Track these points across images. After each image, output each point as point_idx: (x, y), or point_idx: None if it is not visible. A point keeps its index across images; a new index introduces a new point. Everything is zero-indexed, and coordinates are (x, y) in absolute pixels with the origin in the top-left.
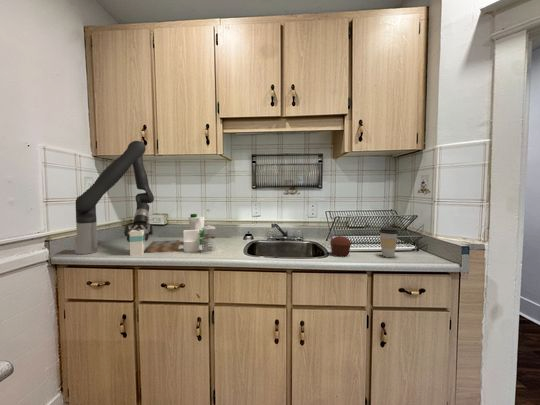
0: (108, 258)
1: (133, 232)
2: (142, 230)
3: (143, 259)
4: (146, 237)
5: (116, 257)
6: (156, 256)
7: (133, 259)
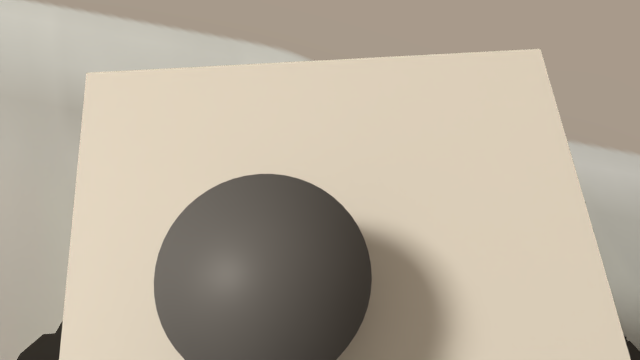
0: (608, 163)
1: (396, 76)
2: (91, 335)
3: (156, 37)
4: (56, 349)
5: None
6: (9, 138)
7: (273, 60)
